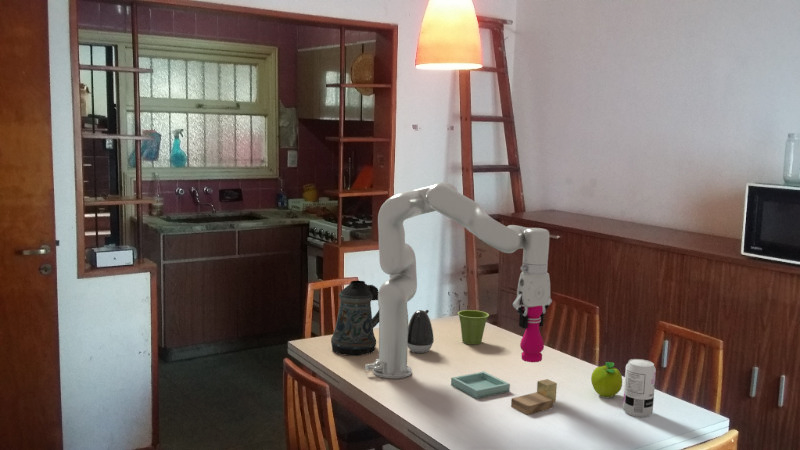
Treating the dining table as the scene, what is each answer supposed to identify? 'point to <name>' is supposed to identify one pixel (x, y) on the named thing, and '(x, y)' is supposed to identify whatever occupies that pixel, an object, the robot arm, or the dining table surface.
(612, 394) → the fruit
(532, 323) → the pepper mill
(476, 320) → the plant pot
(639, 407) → the supplement can
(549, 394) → the block
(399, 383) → the dining table surface
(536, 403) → the flat wooden chunk
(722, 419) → the dining table surface
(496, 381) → the tray
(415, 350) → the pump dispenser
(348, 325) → the beer stein
